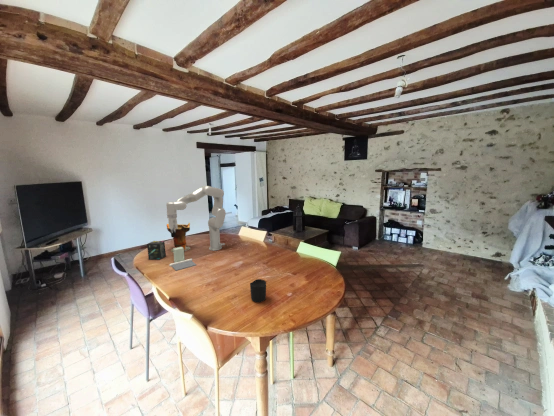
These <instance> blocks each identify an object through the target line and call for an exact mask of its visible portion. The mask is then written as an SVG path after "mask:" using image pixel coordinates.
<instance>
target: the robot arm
mask: <svg viewBox="0 0 554 416" xmlns="http://www.w3.org/2000/svg"><path fill="white" fill-rule="evenodd" d="M224 195H225V191H224V189H221V188H219V187H215V186H214V187H213V186H210V185H203V186H200V187H199V188H198V189H195V190H194V191H192V192H190V193H188V194H186V195H184V196H182V197H180V198H178V199H177V200H175V201H167V202H166V215H167V217H166V218H167V219H168V224H169V228H170V229H171V232H172V233H170V237H171V238H173V237H176V234H175V231H176V230H175V229H178V226H177V224H178V219H177V217H178V213H177V211H183V210H185V209H186V208H187V205H188V204H190V203H194V202H198V201H199V200H201V199H202V198H204V197H206V196H210V197H212V198H213V206H212V209H211V214H212V216H214V217H210V218H209V219H208V221H207V225H208V229H209V247H208V250H209V251H214V252H215V251H220V250H221V249H223V246H225V243H224V242H221V235H220V234H221V233H220V229H221V228H223V225H224V223H225V219H226V215H227V214H226V209H225V208H223V203H224V199H223V197H224Z"/></svg>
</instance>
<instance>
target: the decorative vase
mask: <svg viewBox="0 0 554 416" xmlns="http://www.w3.org/2000/svg"><path fill="white" fill-rule="evenodd" d="M190 225H191V223H190V222H188V224H183V223H182V224H180V223H177V226H178V229H175V230H176V231H175V234H176V237H172V239H173V246H174V248H178V247H183V248H184V252H187V251H188V250H191V247H190V246H187V239H186V236H187V233H188V232H190V230H191V226H190ZM166 230H167V231H168V232H169V233H170V234H171V233H172V232H171V229H170V228H169V223H166ZM170 252H172V253H174V252H173V248H172V249H170Z"/></svg>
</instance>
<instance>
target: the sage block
mask: <svg viewBox="0 0 554 416" xmlns="http://www.w3.org/2000/svg"><path fill="white" fill-rule="evenodd" d="M172 249H173V252H172V253H173V263H176V262H180V261H184V260H186V259H185V251H184V248H183V247H178V248H175V247H173V248H172Z"/></svg>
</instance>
